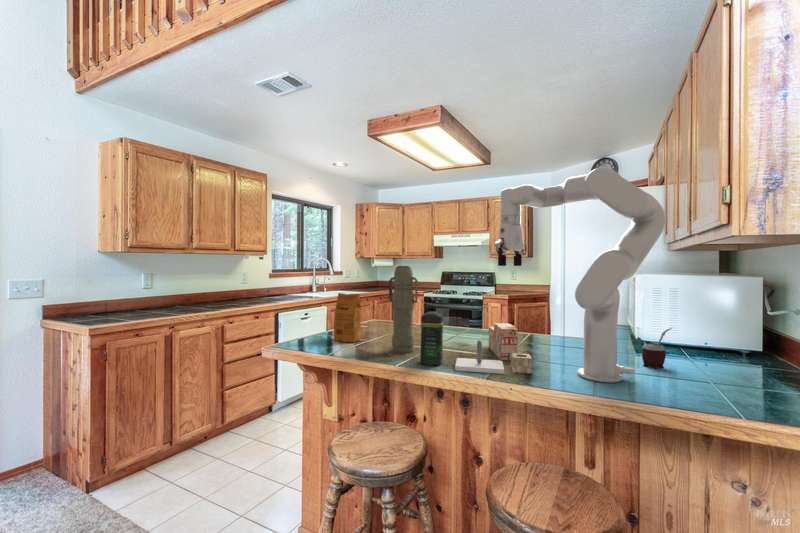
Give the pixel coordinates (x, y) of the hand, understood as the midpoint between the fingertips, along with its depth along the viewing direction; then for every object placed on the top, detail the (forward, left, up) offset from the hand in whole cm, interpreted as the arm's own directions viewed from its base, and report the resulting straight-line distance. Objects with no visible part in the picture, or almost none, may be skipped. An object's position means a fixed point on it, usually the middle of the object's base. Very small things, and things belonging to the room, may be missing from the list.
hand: (509, 265), depth 141 cm
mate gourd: (-50, 0, -36) cm, 61 cm away
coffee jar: (+28, +13, -36) cm, 47 cm away
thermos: (+42, -2, -36) cm, 55 cm away
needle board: (+11, +16, -36) cm, 40 cm away
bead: (-3, +16, -36) cm, 39 cm away
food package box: (+2, -7, -36) cm, 37 cm away
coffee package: (+71, -15, -36) cm, 81 cm away
